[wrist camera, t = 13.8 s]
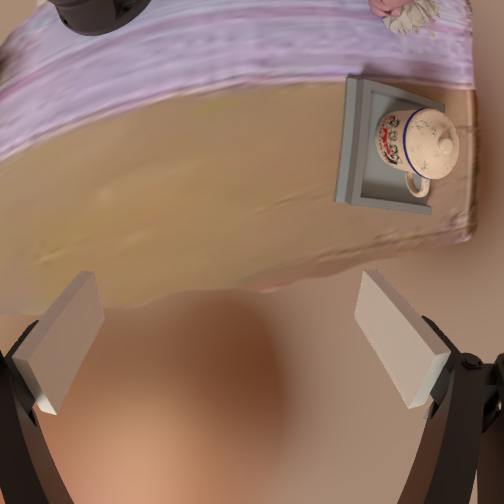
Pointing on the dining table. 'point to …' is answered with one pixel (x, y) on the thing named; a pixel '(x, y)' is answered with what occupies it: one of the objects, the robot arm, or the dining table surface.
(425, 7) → the flower
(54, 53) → the dining table surface
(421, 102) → the grey shallow square tray
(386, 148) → the teacup with lid
